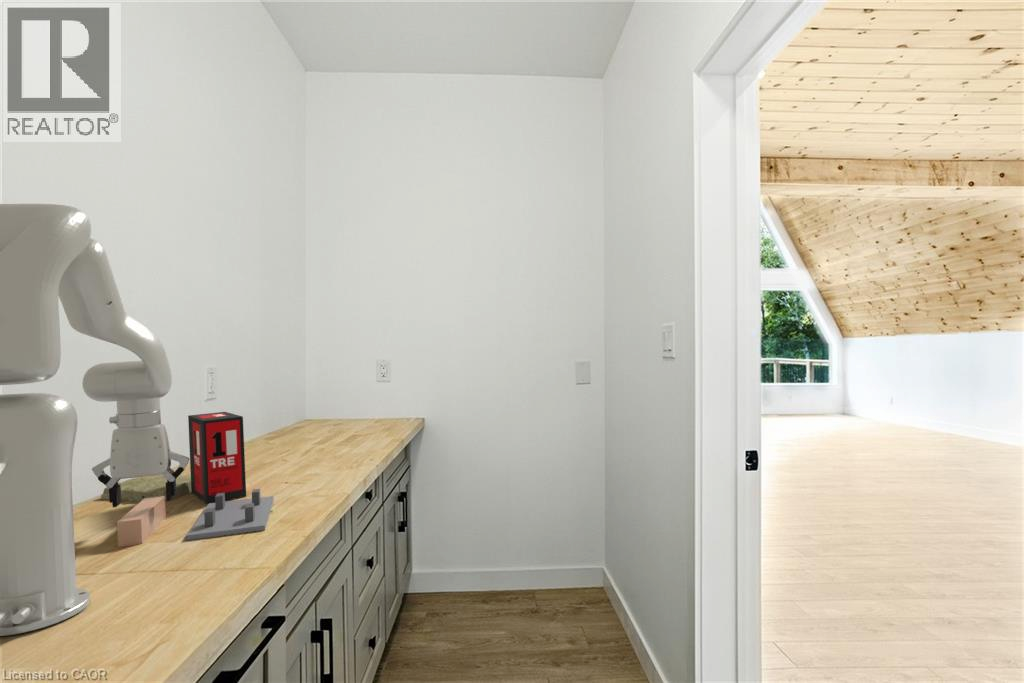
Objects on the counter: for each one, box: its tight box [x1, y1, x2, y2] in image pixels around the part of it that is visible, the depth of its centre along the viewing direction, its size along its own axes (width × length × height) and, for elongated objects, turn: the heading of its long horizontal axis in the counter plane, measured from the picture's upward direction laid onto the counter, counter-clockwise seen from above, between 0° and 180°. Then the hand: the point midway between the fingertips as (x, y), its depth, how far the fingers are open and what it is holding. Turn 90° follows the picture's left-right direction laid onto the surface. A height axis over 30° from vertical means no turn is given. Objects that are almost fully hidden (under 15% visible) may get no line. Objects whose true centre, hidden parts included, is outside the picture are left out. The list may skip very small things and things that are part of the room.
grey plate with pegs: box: [186, 488, 274, 541], centre depth 126 cm, size 24×14×4 cm, turn 18°
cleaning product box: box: [187, 411, 247, 505], centre depth 148 cm, size 16×9×20 cm, turn 40°
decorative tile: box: [100, 473, 192, 502], centre depth 153 cm, size 19×20×4 cm
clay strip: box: [116, 496, 167, 548], centre depth 120 cm, size 18×4×5 cm, turn 18°
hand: (144, 502), depth 121 cm, fingers open, 9 cm apart
